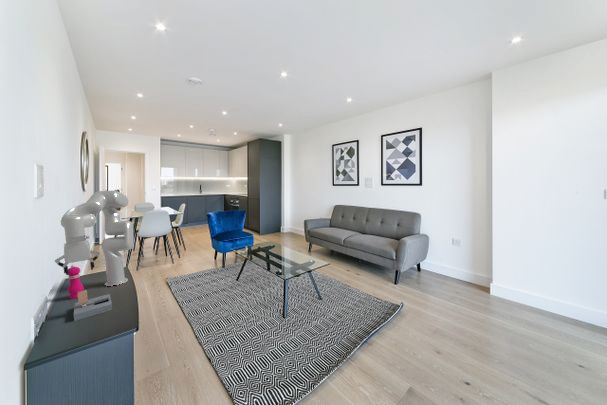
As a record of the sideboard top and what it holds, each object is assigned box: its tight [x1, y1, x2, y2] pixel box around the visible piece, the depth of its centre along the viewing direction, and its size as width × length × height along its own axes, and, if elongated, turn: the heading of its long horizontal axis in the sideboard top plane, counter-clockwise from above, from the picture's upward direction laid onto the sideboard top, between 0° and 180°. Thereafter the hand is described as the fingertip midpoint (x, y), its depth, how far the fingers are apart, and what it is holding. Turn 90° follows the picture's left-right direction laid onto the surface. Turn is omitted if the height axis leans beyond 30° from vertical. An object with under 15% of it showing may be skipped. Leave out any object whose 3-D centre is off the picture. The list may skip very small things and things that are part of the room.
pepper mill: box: [67, 264, 85, 300], centre depth 149 cm, size 7×7×20 cm
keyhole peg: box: [77, 289, 89, 307], centre depth 130 cm, size 5×5×11 cm
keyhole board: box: [73, 293, 113, 322], centre depth 133 cm, size 17×15×3 cm
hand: (80, 271), depth 129 cm, fingers open, 9 cm apart
